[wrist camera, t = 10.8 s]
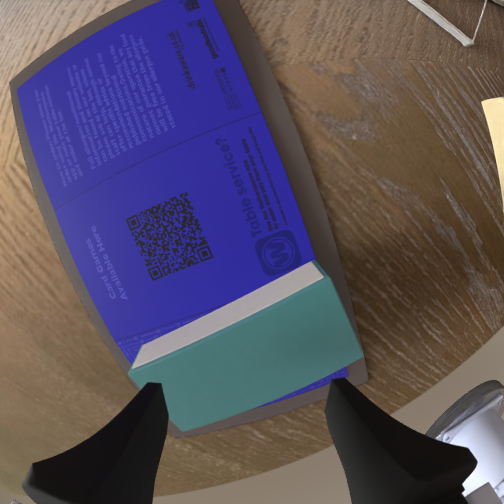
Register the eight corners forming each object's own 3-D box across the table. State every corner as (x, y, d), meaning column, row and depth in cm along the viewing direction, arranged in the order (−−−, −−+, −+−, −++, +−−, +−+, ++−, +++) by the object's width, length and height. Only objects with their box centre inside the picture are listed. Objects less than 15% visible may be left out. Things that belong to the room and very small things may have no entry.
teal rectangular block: (346, 328, 16) (364, 356, 13) (188, 399, 17) (182, 432, 14) (313, 256, 15) (330, 275, 12) (141, 343, 16) (126, 373, 13)
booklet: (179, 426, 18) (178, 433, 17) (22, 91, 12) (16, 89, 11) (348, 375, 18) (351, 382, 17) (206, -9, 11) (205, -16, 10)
